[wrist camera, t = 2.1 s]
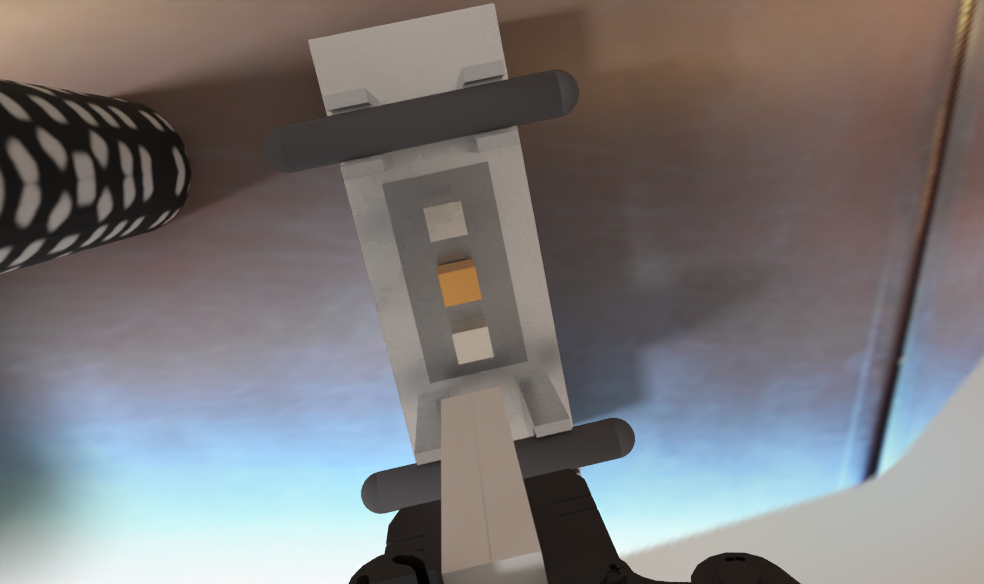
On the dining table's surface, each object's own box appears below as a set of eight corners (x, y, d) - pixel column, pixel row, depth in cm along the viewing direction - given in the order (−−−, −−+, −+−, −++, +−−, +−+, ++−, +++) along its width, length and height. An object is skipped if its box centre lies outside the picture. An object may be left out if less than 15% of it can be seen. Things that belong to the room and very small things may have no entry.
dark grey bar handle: (368, 503, 32) (364, 525, 30) (359, 469, 32) (354, 489, 30) (630, 442, 33) (642, 460, 31) (624, 407, 32) (637, 424, 30)
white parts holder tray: (427, 459, 45) (425, 585, 32) (326, 57, 38) (272, 8, 25) (562, 428, 45) (614, 540, 32) (484, 25, 39) (511, -39, 26)
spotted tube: (219, 171, 39) (11, 191, 20) (129, 261, 40) (-157, 365, 21) (112, 68, 37) (-234, -21, 18) (20, 164, 38) (-409, 179, 19)
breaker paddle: (444, 296, 36) (445, 307, 33) (437, 266, 35) (438, 274, 33) (478, 288, 36) (481, 299, 33) (471, 258, 35) (474, 266, 33)
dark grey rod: (276, 176, 28) (265, 177, 26) (264, 131, 28) (251, 129, 26) (576, 113, 29) (587, 110, 27) (569, 68, 28) (579, 62, 26)
